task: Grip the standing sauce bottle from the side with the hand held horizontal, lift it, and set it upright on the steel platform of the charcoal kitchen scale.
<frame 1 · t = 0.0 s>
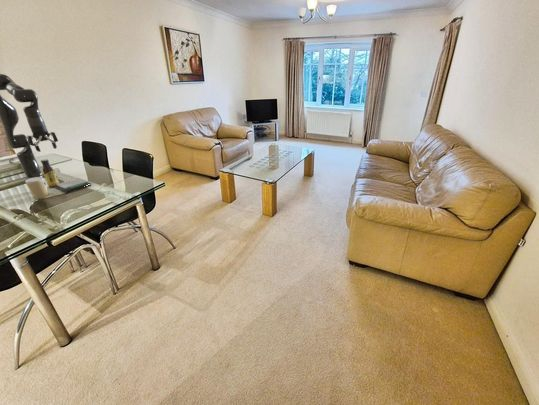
hand: (47, 150, 163), 29 cm above the table, tool pointing down, fingers open, 8 cm apart
sauce bottle: (54, 186, 182), on the table
coffee cup: (41, 196, 169), on the table
kitchen scale: (73, 187, 182), on the table
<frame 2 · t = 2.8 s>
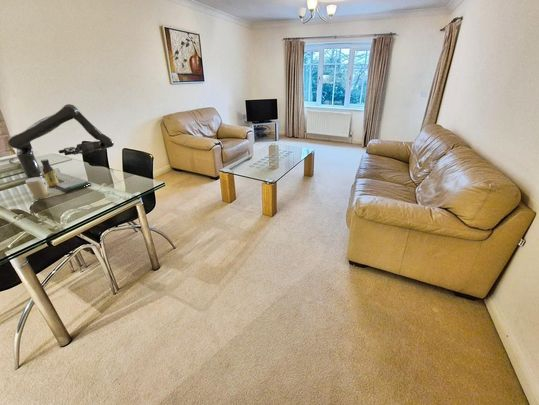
hand: (61, 153, 181), 22 cm above the table, tool horizontal, fingers open, 8 cm apart
nothing on the table moved.
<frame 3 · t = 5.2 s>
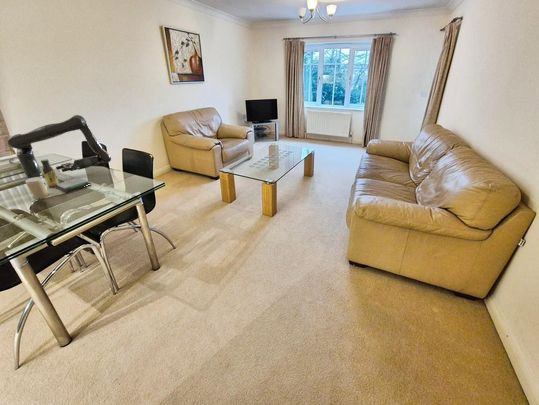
hand: (59, 169, 183), 11 cm above the table, tool horizontal, fingers open, 8 cm apart
nothing on the table moved.
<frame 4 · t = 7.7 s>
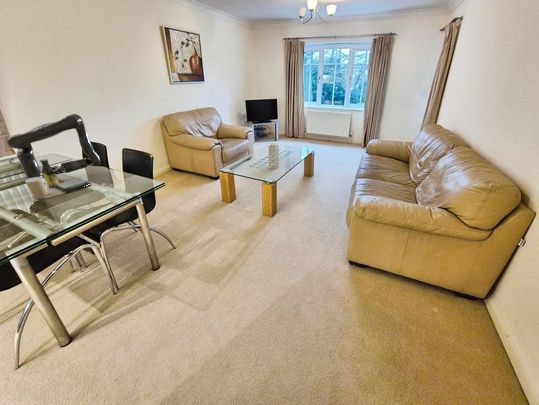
hand: (44, 173, 175), 11 cm above the table, tool horizontal, fingers closed on sauce bottle, 6 cm apart
sauce bottle: (54, 186, 182), on the table, touching gripper
everything else where it was.
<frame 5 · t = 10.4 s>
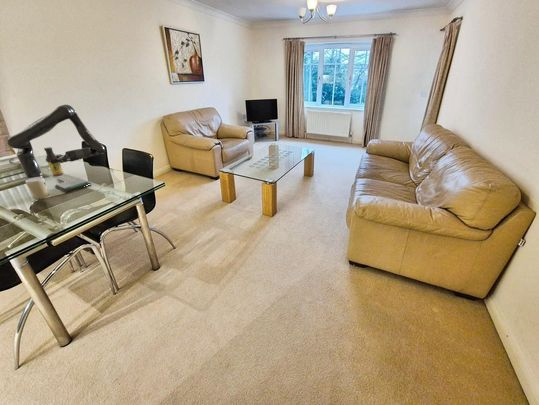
hand: (48, 161, 172), 20 cm above the table, tool horizontal, fingers closed on sauce bottle, 6 cm apart
sauce bottle: (59, 175, 179), point 9 cm above the table, touching gripper
everything else where it was.
when the fingers open (14 cm above the table, at t = 13.6 s): sauce bottle stays where it is, resting on kitchen scale.
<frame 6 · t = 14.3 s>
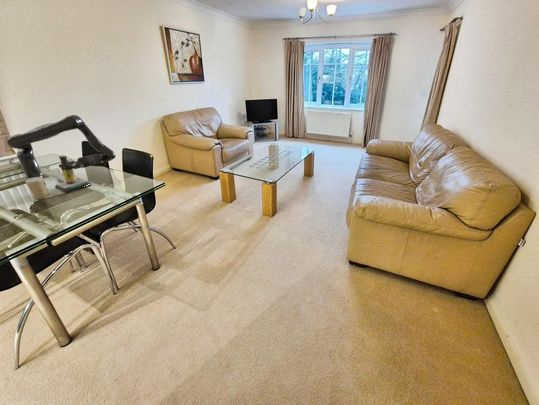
hand: (62, 167, 174), 15 cm above the table, tool horizontal, fingers open, 8 cm apart
sauce bottle: (72, 183, 181), point 3 cm above the table, touching kitchen scale
everything else where it was.
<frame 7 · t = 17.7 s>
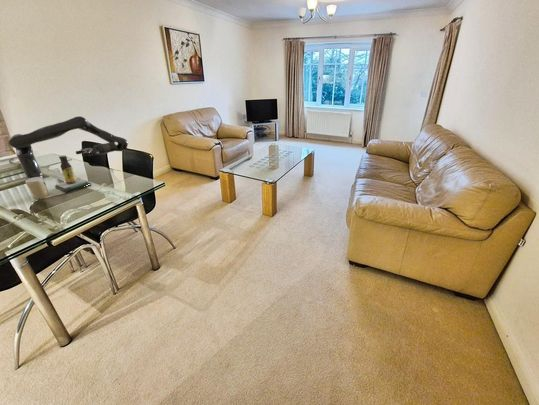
hand: (79, 153, 181), 22 cm above the table, tool horizontal, fingers open, 8 cm apart
nothing on the table moved.
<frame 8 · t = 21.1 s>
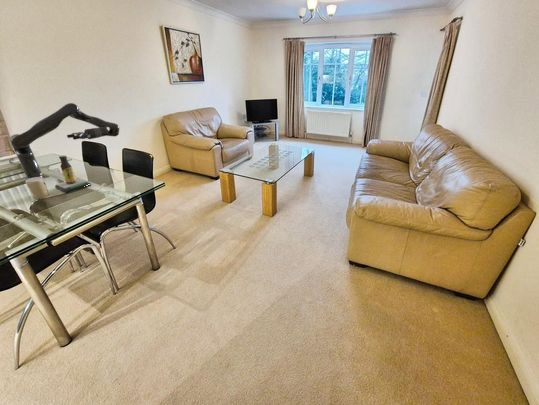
hand: (70, 137, 182), 32 cm above the table, tool horizontal, fingers open, 8 cm apart
nothing on the table moved.
at the end: sauce bottle inside the target area on the kitchen scale (0.3 cm from its centre), point 2.8 cm above the kitchen scale's base; sauce bottle tilted 0°; the gripper is holding nothing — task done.
